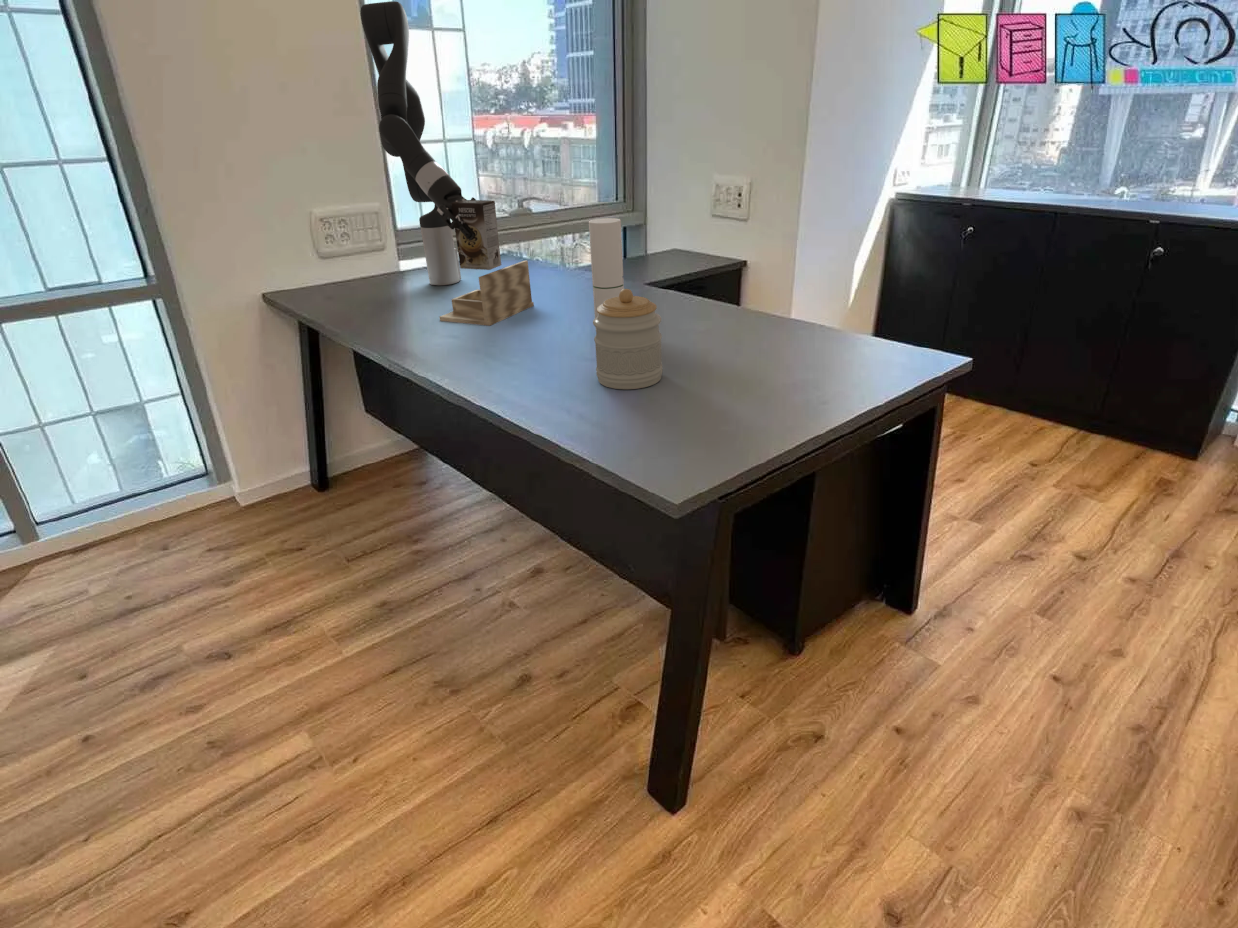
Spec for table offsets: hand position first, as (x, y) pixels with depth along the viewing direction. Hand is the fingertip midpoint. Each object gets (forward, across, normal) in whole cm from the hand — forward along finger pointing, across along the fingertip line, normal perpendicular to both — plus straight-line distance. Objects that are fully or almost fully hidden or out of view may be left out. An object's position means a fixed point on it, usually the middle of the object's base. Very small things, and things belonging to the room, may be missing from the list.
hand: (482, 235), depth 182 cm
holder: (+13, 0, +15) cm, 20 cm away
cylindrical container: (+41, -4, -12) cm, 43 cm away
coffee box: (+5, 0, +7) cm, 8 cm away
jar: (+54, -32, -26) cm, 68 cm away
